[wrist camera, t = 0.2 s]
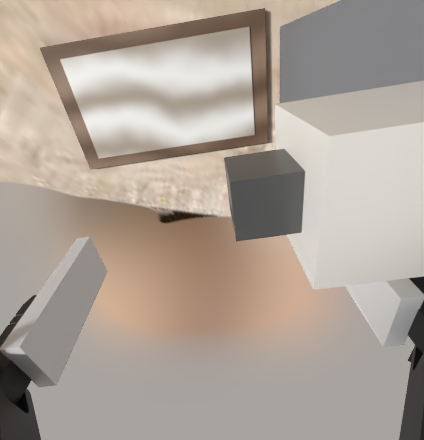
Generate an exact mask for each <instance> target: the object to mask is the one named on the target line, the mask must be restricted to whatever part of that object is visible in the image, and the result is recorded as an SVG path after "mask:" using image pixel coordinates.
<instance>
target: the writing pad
mask: <svg viewBox="0 0 424 440" xmlns="http://www.w3.org/2000/svg"><path fill="white" fill-rule="evenodd" d="M40 50H41V52H42V55H43V57H44V60H45V62H46V64H47V67H48V69H49V71H50V74H51V76H52V79H53V81H54V83H55V86H56V88H57V91H58V93H59V95H60V98H61V100H62V102H63V105H64V107H65V110H66V112H67V114H68V117H69V119H70V121H71V124H72V126H73V129H74V131H75V133H76V136H77V138H78V141H79V143H80V145H81V148H82V150H83V152H84V155H85V157H86V160H87V162H88V164H89V167H90V169H96V168H103V167H109V166H116V165H123V164H129V163H136V162H143V161H149V160H156V159H162V158H169V157H176V156H182V155H189V154H195V153H202V152H209V151H215V150H222V149H229V148H235V147H242V146H248V145H255V144H262V143H268V117H267V72H266V28H265V8H264V9H258V10H252V11H246V12H241V13H235V14H229V15H224V16H218V17H212V18H207V19H201V20H195V21H190V22H184V23H178V24H173V25H167V26H161V27H156V28H150V29H144V30H138V31H133V32H127V33H121V34H116V35H110V36H104V37H99V38H93V39H87V40H82V41H76V42H70V43H65V44H59V45H53V46H47V47H42V48H40Z"/></svg>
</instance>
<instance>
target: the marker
mask: <svg viewBox="0 0 424 440" xmlns="http://www.w3.org/2000/svg"><path fill="white" fill-rule="evenodd" d="M224 161H225V169H226V178H227V186H228V195H229V203H230V211H231V216H232V220H233V226H234V231H235V237H236V241H241V240H250V239H258V238H265V237H273V236H280V235H287V237H288V239H289V241H290V243H291V245H292V247H293V249H294V251H295V253H296V255H297V257H298V259H299V261H300V263H301V265H302V267H303V269H304V272H305V273H306V275H307V278H308V280H309V282H310V284H311V286H312V288H313V290H317V289H324V288H333V287H341V286H349V285H358V284H366V283H374V282H382V281H390V280H398V279H406V278H415V277H423V276H424V81H418V82H412V83H406V84H399V85H393V86H387V87H380V88H374V89H368V90H361V91H355V92H349V93H342V94H336V95H330V96H323V97H317V98H311V99H304V100H298V101H292V102H285V103H279V104H275V150H272V151H265V152H259V153H252V154H245V155H239V156H232V157H225V158H224Z"/></svg>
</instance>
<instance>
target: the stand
mask: <svg viewBox="0 0 424 440" xmlns="http://www.w3.org/2000/svg"><path fill="white" fill-rule="evenodd" d="M418 81H424V0H341V1H338V2H336V3H334V4H331V5H329V6H327V7H325V8H322V9H320V10H318V11H315V12H313V13H311V14H309V15H306V16H304V17H302V18H299V19H297V20H295V21H293V22H290V23H288V24H286V25H283V26H281V27H280V103H285V102H292V101H298V100H304V99H311V98H317V97H323V96H330V95H336V94H342V93H349V92H355V91H361V90H368V89H374V88H380V87H387V86H393V85H399V84H406V83H412V82H418Z"/></svg>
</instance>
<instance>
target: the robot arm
mask: <svg viewBox="0 0 424 440" xmlns="http://www.w3.org/2000/svg"><path fill="white" fill-rule="evenodd" d="M106 274H107V269H106V267H105V265H104V263H103V261H102V259H101V257H100V255H99V254H98V252H97V250H96V248H95V246H94V244H93V242H92V240H91V238H90V237H83V238H77V239H76V241H75V242H74V243H73V245H72V247H71V248H70V249H69V251H68V252H67V253H66V255H65V256H64V258H63V259H62V260H61V262H60V263H59V265H58V266H57V268H56V269H55V270H54V272H53V273H52V275H51V276H50V278H49V279H48V280H47V282H46V284H45V285H44V286H43V288H42V289H41V290H40V292H39V293H38V295H34V296H33V297H31V298H30V299H29V300H28V301H27V302H26V303H25V304H23V306H22V307H21V308H20V310H19V311H18V312H17V314H16V317H14V318H13V319H12V321H11V322H10V325H8V326H7V327H6V329H5V330H4V331H3V333H2V334H1V336H0V440H41V438H40V434H39V429H38V424H37V420H36V416H35V411H34V407H33V403H32V398H31V394H30V392H29V390H28V389H27V387H28V385H29V383H30V381H31V380H32V381H33V382H34V383H35V384H36V385H37V386H38V387H45V386H53V385H57V383H58V381H59V379H60V376H61V374H62V372H63V370H64V367H65V365H66V363H67V361H68V358H69V356H70V354H71V352H72V349H73V347H74V345H75V343H76V341H77V338H78V336H79V334H80V332H81V329H82V327H83V325H84V323H85V321H86V318H87V316H88V314H89V311H90V309H91V307H92V305H93V303H94V300H95V298H96V296H97V294H98V292H99V289H100V287H101V285H102V283H103V280H104V278H105V276H106ZM345 287H346V289H347V290H348V292H349V293H350V295H351V297H352V298H353V300H354V301H355V303H356V305H357V306H358V308H359V309H360V311H361V312H362V314H363V315H364V317H365V319H366V320H367V322H368V323H369V325H370V327H371V328H372V330H373V331H374V333H375V334H376V336H377V338H378V339H379V341H380V342H381V344H382V346H383V347H388V346H397V345H404V343H405V341H406V339H407V336H409V337H410V338H411V340H412V341H413V342H414V343H415V347H414V349H413V351H412V353H411V355H410V357H409V359H408V361H410V362H411V368H410V374H409V380H408V386H407V394H406V399H405V406H404V412H403V419H402V425H401V432H400V438H399V440H424V276H423V277H415V278H406V279H398V280H390V281H382V282H374V283H366V284H358V285H349V286H345Z"/></svg>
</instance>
